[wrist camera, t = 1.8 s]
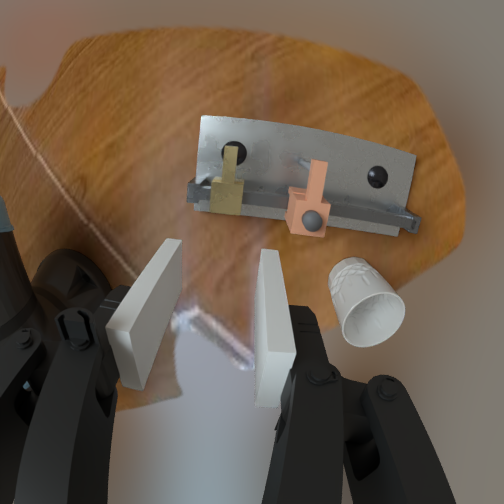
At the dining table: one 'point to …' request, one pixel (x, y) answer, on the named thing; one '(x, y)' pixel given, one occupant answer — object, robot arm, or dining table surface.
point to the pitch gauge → (300, 174)
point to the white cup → (364, 303)
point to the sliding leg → (309, 202)
